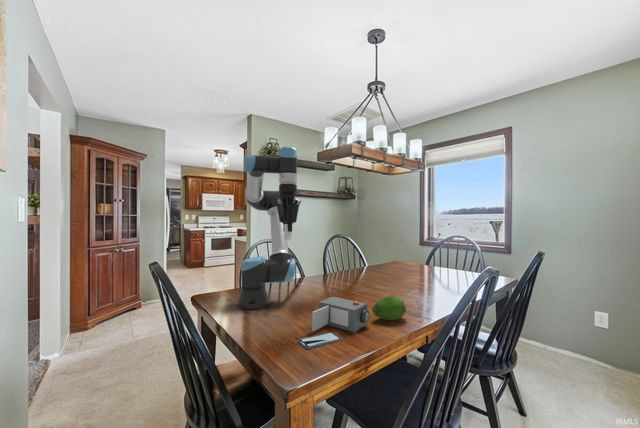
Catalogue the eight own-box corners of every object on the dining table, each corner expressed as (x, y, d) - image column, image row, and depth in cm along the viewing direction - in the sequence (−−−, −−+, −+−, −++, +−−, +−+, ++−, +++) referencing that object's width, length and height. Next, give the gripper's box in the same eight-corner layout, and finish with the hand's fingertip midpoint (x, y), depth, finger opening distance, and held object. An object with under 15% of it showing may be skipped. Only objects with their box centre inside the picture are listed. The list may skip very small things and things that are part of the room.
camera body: (319, 322, 117) (319, 300, 117) (332, 315, 125) (332, 294, 125) (359, 333, 106) (359, 309, 106) (371, 325, 114) (371, 302, 114)
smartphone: (343, 338, 101) (307, 347, 93) (343, 341, 101) (306, 350, 93) (332, 331, 107) (297, 339, 99) (332, 334, 107) (296, 342, 99)
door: (325, 322, 115) (325, 304, 115) (329, 323, 114) (329, 305, 114) (310, 330, 107) (310, 311, 107) (314, 331, 106) (314, 312, 106)
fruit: (378, 326, 113) (378, 301, 114) (367, 317, 123) (367, 294, 123) (411, 322, 118) (411, 298, 118) (398, 314, 127) (398, 292, 127)
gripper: (270, 184, 121) (270, 239, 120) (293, 182, 113) (293, 240, 113) (283, 185, 127) (282, 238, 126) (305, 183, 119) (305, 239, 119)
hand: (287, 239), depth 120 cm, fingers closed
